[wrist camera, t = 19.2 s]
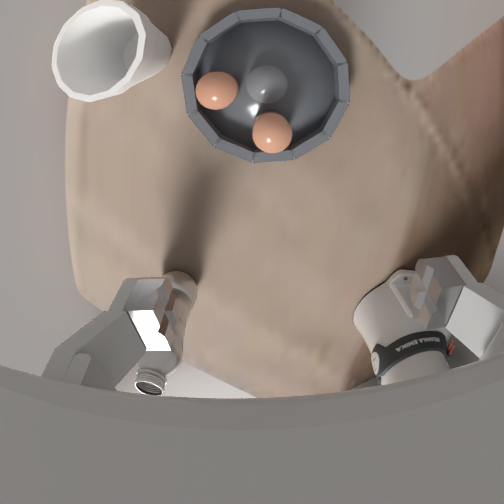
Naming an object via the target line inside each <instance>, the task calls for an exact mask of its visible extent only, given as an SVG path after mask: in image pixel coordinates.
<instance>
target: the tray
mask: <svg viewBox="0 0 504 504" xmlns="http://www.w3.org/2000/svg"><path fill="white" fill-rule="evenodd" d="M321 28H322V26H320V25H318V24H316V23H314V22H312V21H310V20H308V19H306V18H304V17H302V16H300V15H298V14H295V13H293V12H291V11H289V10H286V9H284V8H283V9H282V10H281V8H263V9H250V10H240V11H237V14H236V12H233V13H232V14H230V15H228V16H227V17H225V18H224V19H222V20H221V21H219V22H218V23H216V24H215V25H213V26H212V27H210V28H209V29H208V30H206V31H205V32H203V33H202V34H201V35H199V36H200V37H201V38H200V37H198V38H197V40H196V42H195V44H194V47H193V49H192V51H191V53H190V55H189V58H188V60H187V62H186V64H185V67H184V69H183V71H182V74H185V75H181V77H182V84H183V90H184V97H185V104H186V110H187V114H189V115H188V116H189V118H190V119H191V120H192V121H193V122H194V124H195V125H196V126H197V127H198V129H199V130H200V131H201V132H202V133H203V135H204V136H205V137H206V138H207V139H208V141H209V142H210V143H211V144H212V146H214V145H215V148H218V149H220V150H223V151H225V152H228V153H230V154H232V155H235V156H237V157H240V158H242V159H244V160H247V161H249V162H251V163H252V161H253V163H258V162H271V161H286V160H294V158H295V159H297V158H299V157H300V156H302V155H304V154H305V153H307V152H309V151H310V150H312V149H313V148H315V147H317V146H318V145H320V144H322V143H324V142H325V141H327V140H329V138H328V137H330V138H331V136H332V134H333V132H334V131H335V129H336V127H337V125H338V124H339V122H340V120H341V118H342V116H343V115H344V113H345V111H346V109H347V107H348V106H349V104H348V103H346V102H350V95H349V73H348V63H346V62H347V60H346V59H345V57H344V56H343V54H342V53H341V51H340V50H339V48H338V47H337V45H336V44H335V43H334V41H333V40H332V38H331V37H330V35H329V34H328V33H327V31H326V30H325V29H324V28H322V29H321ZM210 72H227V73H230V74H232V75H233V76H234V77H235V78H236V79H237V81H238V83H239V93H238V95H237V97H236V98H235V99H234V100H233V101H232V102H231V103H230V104H229V105H228V106H226V107H225V108H222V109H218V110H213V109H209V108H206V107H204V106H203V105H202V104H201V103H200V102H199V101H198V99H197V97H196V85H197V83H198V81H199V80H200V79H201V78H202V77H203V76H204V75H206V74H208V73H210ZM266 110H275V111H278V112H280V113H281V114H282V115H284V117H285V118H286V120H287V122H288V123H289V125H290V127H291V130H292V139H291V142H290V144H289V145H288V147H287V148H286V149H284V150H283V151H281V152H278V153H267V152H264V151H262V150H261V149H259V148H258V147H257V146H256V144H255V143H254V140H253V136H252V133H253V124H254V120H255V118H256V117H257V115H258V114H260V113H261V112H263V111H266ZM293 157H294V158H293Z"/></svg>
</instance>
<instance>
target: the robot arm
mask: <svg viewBox="0 0 504 504" xmlns="http://www.w3.org/2000/svg"><path fill="white" fill-rule="evenodd" d="M172 288H173V286H172V283H171V281H170V279H169V278H168V277H145V278H127V279H125V280H124V281H123V283H122V285H121V287H120V289H119V291H118V293H117V295H116V297H115V299H114V301H113V303H112V304H111V306H110V308H109V311H104V312H102V313H101V314H100V315H99V316H97V317H96V318H94V319H93V320H92V321H90V322H89V323H88V324H87V325H85V326H84V327H83V328H81V329H80V330H79V331H77V332H76V333H75V334H73V335H72V336H71V337H69V338H68V339H67V340H66V341H64V342H63V343H62V344H61V345H59V346H58V347H57V348H55V350H54V352H53V354H52V356H51V358H50V360H49V362H48V364H47V366H46V368H45V370H44V372H43V374H42V376H36V375H33V374H29V373H25V372H22V371H18V370H15V369H11V368H8V367H5V366H1V365H0V504H504V296H503V295H501V294H499V293H498V292H496V291H495V290H493V289H491V288H489V287H488V286H486V285H484V284H483V283H478V282H477V281H476V280H475V278H474V277H473V275H472V274H471V273H470V271H469V270H468V269H467V268H466V266H465V265H464V264H463V262H462V261H461V260H460V258H459V257H458V256H456V255H448V256H443V257H435V258H425V259H419V260H418V261H417V263H416V267H415V271H413V270H398V271H396V272H395V273H394V274H393V275H392V276H391V277H390V278H389V279H388V280H387V281H386V282H385V283H384V284H382V285H381V286H379V287H377V288H376V289H374V290H373V291H371V292H370V293H369V294H367V295H366V296H365V297H364V298H363V299H362V301H361V302H360V303H359V305H358V306H357V308H356V310H355V313H354V324H355V327H356V328H357V329H358V331H359V332H360V333H361V335H362V336H363V338H364V340H365V342H366V344H367V346H368V348H369V350H370V352H371V359H372V365H373V369H374V373H375V375H376V378H377V381H378V384H379V386H374V387H368V388H362V389H356V390H349V391H341V392H333V393H325V394H315V395H305V396H292V397H276V398H248V399H216V398H187V397H186V398H185V397H171V396H158V395H147V394H137V393H129V392H120V391H117V390H116V389H115V386H116V385H117V384H118V383H119V382H120V381H121V380H122V379H123V378H124V376H125V375H126V374H127V373H128V372H129V371H130V370H131V369H132V368H133V367H134V365H135V364H136V363H137V362H138V361H139V360H140V359H141V358H142V357H143V356H144V354H145V353H146V352H147V350H171V347H172V343H173V339H174V335H175V334H174V332H173V328H174V327H175V326H176V325H177V324H178V320H179V305H178V301H177V298H176V296H174V295H173V294H172V293H171V291H172ZM451 333H452V334H453V335H454V336H455V337H457V338H458V339H459V340H460V341H461V342H462V343H463V344H464V345H466V346H467V347H468V348H469V349H470V350H471V351H472V352H473V353H475V354H476V355H477V356H478V357H479V358H480V359H479V361H477V362H474V363H471V364H468V365H464V366H461V367H457V368H454V369H450V368H449V366H448V364H447V361H448V359H449V358H450V356H451V355H450V353H451V351H452V350H453V348H454V346H455V345H453V346H452V344H453V341H451V342H450V344H449V346H448V348H447V346H446V341H447V340H448V338H449V336H450V335H451Z"/></svg>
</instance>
